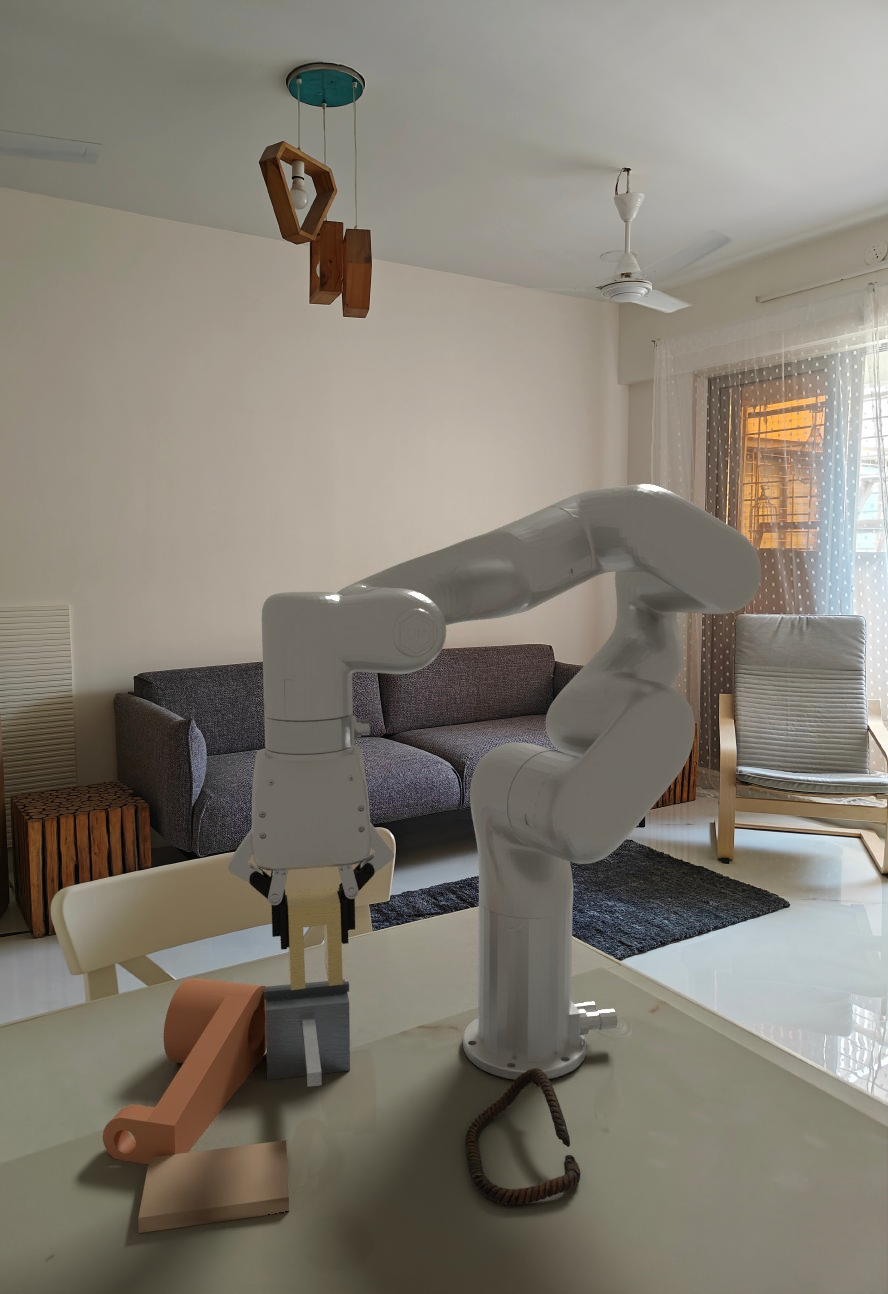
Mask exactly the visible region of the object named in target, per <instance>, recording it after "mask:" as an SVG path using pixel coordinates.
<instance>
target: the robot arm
mask: <svg viewBox="0 0 888 1294" xmlns="http://www.w3.org/2000/svg"><path fill="white" fill-rule="evenodd" d="M761 566H762V565H761V560H760V558H759V555H758V553H757V550H756V549H755V546H754V545H753V544H752V543H751V541H750V540H749V539H748V538H747V537H746V536H745V535H744V534H743V533H742V532H740V531H738V529H735V528H734V527H733V526H730V525H729V524H728V523H726V522H724V521H723V520H722V519H719V518H718V517H716V516H715V515H713V514H711V513H709V512H708V511H706V510H704V509H703V508H701V507H700V506H698V505H696V504H694V503H693V502H691V501H689V500H688V499H686V498H684V497H682V496H681V495H679V494H676V493H675V492H672V491H671V490H668V489H665V488H663V487H660V486H658V485H654V484H648V483H647V484H646V483H640V484H630V485H623V486H622V485H621V486H613V487H605V488H596V489H591V490H586V491H582V492H579V493H577V494H573V495H572V496H569V497H567V498H565V499H562V500H559V501H557V502H555V503H552V504H550V505H548V506H546V507H543V508H542V509H539V510H538V511H535V512H533V513H531V514H528V515H526V516H523V517H521V518H519V519H517V520H514V521H512V522H510V523H508V524H505V525H502V526H501V527H498V528H495V529H493V530H491V531H488V532H486V533H482V534H480V535H477V536H473V537H471V538H468V539H465V540H462V541H459V542H457V543H454V544H452V545H449V546H446V547H443V548H440V549H437V550H435V551H432V552H429V553H427V554H424V555H420V556H418V557H417V556H416V557H415V558H412V559H409V560H406V561H404V562H401V563H398V564H395V565H392V566H391V567H388V568H386V569H383V570H381V571H378V572H376V573H374V574H372V575H369V576H367V577H364V578H363V579H360V580H358V581H356V582H353V583H351V584H349V585H347V586H345V587H343V588H341V589H340V590H338V591H337V592H334V591H333V592H331V591H289V592H288V591H287V592H279V593H275V594H272V595H270V596H269V597H267V598H266V599H265V601H264V602H263V604H262V608H261V636H262V637H261V638H262V639H261V641H262V644H261V645H262V679H263V681H262V682H263V710H264V711H263V715H264V744H265V745H264V747H265V748H262V749H259V750H257V751H256V755H255V762H254V767H253V776H252V789H251V825H250V826H251V828H250V830H249V831H248V832H247V834H246V835H245V836H244V838H243V839H242V841H241V843H240V844H239V846H238V848H237V849H236V850H235V852H234V853H233V854H232V855H231V857H230V859H229V860H228V863H227V864H228V865H227V870H228V871H229V872H230V873H231V874H232V875H235V876H236V877H238V878H239V879H241V880H243V881H245V882H247V883H248V884H250V886H251V887H252V888H254V889H255V890H256V891H257V892H258V893H260V894H261V895H262V896H263V897H264V898H266V900H267V902H268V903H269V904H271V928H272V929H271V933H272V934H271V935H272V938H275V937H276V938H277V937H280V950H281V951H282V950H287V949H288V948H289V922H288V902H287V894H286V889H285V888H286V887H285V886H286V883H287V878H288V873H289V871H292V870H306V869H308V870H309V869H319V868H334V867H337V869H338V873H339V877H340V880H341V882H340V884H338V885H339V887H338V890H337V893H338V897H339V900H340V912H341V943H342V945H345V944H349V931H352V930H356V898H357V897H358V896H359V892H360V890H362V889H363V887H364V886H366V885H367V883H369V881H370V880H371V879H372V878H373V877H374V875H375V874H376V873H377V872H378V871H380V870H382V869H383V868H384V867H385V866H387V865H388V864H389V863H390V862H392V861H393V860H394V857H395V854H394V852H393V849H392V847H390V845H389V844H388V843H387V841H386V840H385V839H384V837H383V836H382V835H381V834H380V833H379V831H378V830H377V828H376V827H375V826H374V825H373V824H372V822H371V816H370V802H369V792H368V790H369V789H368V784H367V778H366V770H365V761H364V757H363V753H362V748H361V747H360V746H359V745H355V741H356V740H357V739H358V738H361V737H362V736H369V735H370V734H371V726H370V724H371V723H370V720H369V719H361V718H357V716H355V715H354V713H353V711H354V710H353V709H354V706H353V705H354V704H353V674H354V673H357V672H359V673H360V672H361V673H363V672H364V673H377V674H378V673H379V674H387V675H388V674H389V675H405V674H411V673H414V672H416V671H420V670H422V669H424V668H425V667H427V666H429V665H430V664H432V662H434V661H435V659H437V658H438V656H439V655H440V653H441V652H442V649H443V648H444V645H445V642H446V639H447V626H450V625H453V624H458V623H465V622H471V621H482V620H483V621H485V620H493V619H499V618H504V617H510V616H513V615H518V614H523V613H525V612H527V611H530V610H532V609H534V608H536V607H538V606H540V605H542V604H543V603H545V602H547V601H550V600H552V599H554V598H556V597H558V596H560V595H562V594H563V593H565V592H568V591H570V590H571V589H572V590H573V588H575V587H578V586H579V585H581V584H583V583H586V582H588V581H589V580H591V579H594V578H596V577H598V576H599V575H604V574H607V573H608V574H609V573H612V572H613V573H615V576H614V580H615V581H614V587H615V594H616V621H615V626H614V629H613V631H612V632H611V634H610V636H609V638H608V639H607V640H606V641H605V643H603V645H602V646H601V647H600V648H599V650H597V652H596V653H595V654H594V655H593V656H592V657H591V658H590V659H589V660H588V661H587V663H586V664H584V666H583V667H582V668H581V669H580V670H579V671H578V672H577V674H575V675H574V676H573V678H571V680H570V681H569V682H568V683H566V685H565V686H564V687H563V688H562V690H560V692H559V693H558V694H557V696H556V697H555V698H554V700H553V701H552V702H551V704H550V706H549V708H548V711H547V712H546V715H545V716H546V717H545V733H546V735H547V737H548V739H549V741H550V742H551V744H552V746H553V747H554V748H556V749H557V750H556V749H553V748H549V747H545V746H542V745H538V744H533V743H527V742H507V743H504V744H500V745H499V746H495V747H494V748H492V749H491V750H489V751H487V753H485V754H484V756H482V757H481V759H480V760H479V761H478V763H477V764H476V766H475V768H474V771H473V774H472V777H471V781H470V787H469V802H470V810H471V818H472V822H473V828H474V833H475V834H474V835H475V839H476V847H477V857H478V858H477V859H478V860H477V861H478V948H477V949H478V951H477V952H478V958H477V959H478V973H477V974H478V975H477V976H478V978H477V979H478V980H477V981H478V986H477V987H478V991H477V993H478V994H477V995H478V996H477V997H478V999H477V1000H478V1001H477V1003H478V1004H477V1009H478V1010H477V1017H476V1018H475V1019H473V1020H472V1021H471V1022H470V1023H469V1024H468V1025H467V1026H466V1028H465V1029H464V1031H463V1036H462V1043H463V1044H462V1048H463V1051H464V1053H465V1055H466V1057H467V1058H468V1060H469V1061H470V1062H471V1063H472V1064H474V1065H475V1066H476V1067H478V1068H479V1069H481V1070H483V1071H484V1072H487V1073H489V1074H491V1075H494V1076H496V1077H500V1078H504V1079H508V1080H513V1081H514V1080H516V1078H517V1077H518V1076H521V1074H522V1073H524V1072H526V1071H527V1070H529V1069H532V1068H539V1069H540V1070H542V1071H543V1072H544V1073H545V1074H546V1075H547V1077H548V1078H549V1080H551V1079H555V1078H559V1077H561V1076H565V1075H566V1074H569V1073H571V1072H572V1071H574V1070H576V1069H577V1068H578V1067H579V1066H580V1065H581V1064H582V1063H583V1061H584V1060H585V1058H586V1055H587V1039H586V1036H585V1035H588V1034H589V1031H593V1030H595V1031H596V1030H598V1031H600V1030H611V1029H612V1030H613V1029H616V1028H617V1026H618V1017H617V1013H616V1011H615V1009H614V1008H603V1009H597V1006H596V1003H595V1001H594V1000H591V1001H590V1000H589V1001H582V1002H576V1003H574V1001H573V1000H572V978H573V977H572V975H573V974H572V971H573V968H572V967H573V964H572V963H573V961H572V960H573V904H574V883H573V873H572V867H571V863H574V864H582V865H583V864H584V865H585V864H588V865H589V864H593V863H596V862H599V861H601V860H603V859H605V858H607V857H609V855H610V854H612V853H613V852H615V850H617V849H618V848H619V847H620V846H621V845H623V842H625V840H626V839H627V838H628V837H629V836H630V835H631V833H632V832H633V831H634V830H635V829H636V828H637V827H638V825H639V824H640V823H641V821H642V820H643V819H644V818H645V816H646V815H647V814H648V813H649V812H650V811H651V809H652V808H653V807H654V805H655V804H656V803H657V802H658V801H659V799H660V798H661V797H662V796H663V795H664V793H665V792H666V791H667V789H668V788H669V787H670V786H671V785H672V783H674V782H675V780H676V778H677V777H678V776H679V774H680V773H681V771H682V770H683V768H684V766H686V763H687V761H688V759H689V756H690V754H691V751H692V748H693V745H694V739H695V732H696V726H695V723H696V721H695V716H694V711H693V708H692V707H691V705H690V703H689V701H688V700H687V699H686V697H684V695H683V694H681V692H679V691H678V690H677V689H676V688H673V685H674V684H675V683H676V681H677V680H678V678H679V676H680V674H681V671H682V668H683V662H684V652H683V646H682V645H683V644H682V641H681V635H680V627H679V620H678V615H677V613H681V614H683V613H684V614H705V615H706V614H707V615H727V614H731V613H734V612H737V611H739V610H741V609H743V608H744V607H746V606H747V605H748V604H749V603H750V602H751V601H752V600H753V599H754V597H755V596H756V594H757V593H758V591H759V587H760V583H761V578H762V567H761ZM371 849H372V852H371ZM252 856H253V861H254V864H255V865H254V864H252V863H251V862H250V859H251V858H252ZM353 865H356V866H355V868H353ZM264 870H265V871H270V875H269V874H268V873H267V872H265V871H264Z"/></svg>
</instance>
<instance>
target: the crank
mask: <svg viewBox="0 0 888 1294" xmlns="http://www.w3.org/2000/svg"><path fill="white" fill-rule="evenodd" d="M266 987H267V986H265V985H260V984H250V983H242V982H241V983H240V982H231V981H223V980H215V979H206V978H205V979H204V978H195V977H188V978H186V979H184V980H183V981H182V983H180V984H179V986H178V987H177V989H176V990H175V992H174V994H173V996H172V997H171V999H170V1002H169V1005H168V1009H167V1012H166V1015H165V1019H164V1020H165V1021H164V1024H163V1025H164V1026H163V1046H164V1047H163V1048H164V1052H165V1055H166V1057H167V1059H168V1060H169V1061H170V1062H172V1063H175V1064H176V1063H177V1064H178V1063H179V1064H181V1067H180V1068H179V1070H178V1071H177V1073H176V1074H175V1076H174V1077H173V1079H172V1081H171V1082H170V1084H169V1085H168V1087H167V1088H166V1090H165V1091H164V1093H163V1095H162V1096H161V1098H160V1100H159V1101H158V1103H157V1104H156V1105H155V1106H148V1105H140V1104H129V1105H126V1106H124V1107H122V1108H121V1109H120V1110H119V1111H118V1112H117V1113H116V1114H115V1115H114V1117H113V1118H111V1119H110V1121H108V1123H107V1124H106V1125H105V1127H104V1129H103V1131H102V1143H103V1146H104V1147H105V1150H106V1152H108V1154H109V1155H110V1157H112V1158H113V1159H115V1160H120V1161H127V1162H132V1163H139V1164H145V1165H148V1164H149V1158H150V1157H157V1156H165V1155H173V1154H181V1153H189V1152H191V1149H193V1147H194V1146H195V1145H196V1144H197V1142H198V1140H199V1139H200V1138H201V1136H202V1135H203V1134H204V1133H205V1132H206V1130H207V1129H208V1128H209V1126H210V1125H211V1124H212V1122H213V1121H215V1119H216V1118H217V1117H218V1115H219V1114H220V1112H221V1111H222V1110H223V1109H224V1108H225V1106H226V1105H227V1104H228V1102H229V1101H230V1100H231V1098H233V1096H234V1095H235V1094H236V1092H237V1091H238V1090H239V1088H241V1086H242V1084H244V1082H245V1081H246V1079H247V1078H248V1077H249V1076H250V1074H251V1073H252V1072H253V1070H254V1069H256V1067H257V1066H258V1064H259V1063H260V1062H261V1060H262V1059H263V1057H264V1055H265V1053H266V1052H267V1044H266V1000H264V989H266ZM130 1134H131V1135H132V1136H131V1135H130Z"/></svg>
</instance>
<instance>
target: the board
mask: <svg viewBox="0 0 888 1294" xmlns="http://www.w3.org/2000/svg"><path fill="white" fill-rule="evenodd" d="M287 1149H288V1148H287V1140H279V1141H278V1140H277V1141H269V1142H268V1141H267V1142H261V1143H254V1144H244V1145H239V1146H238V1145H237V1146H236V1145H235V1146H230V1147H223V1148H222V1147H221V1148H213V1149H206V1150H205V1149H204V1150H197V1151H189V1152H188V1153H181V1154H173V1155H165V1156H157V1157H150V1158H149V1164H147V1169H146V1175H145V1181H144V1185H143V1191H142V1197H141V1201H140V1208H139V1213H138V1217H137V1219H138V1234H141V1233H142V1234H143V1233H150V1232H157V1231H164V1230H170V1229H178V1228H185V1227H191V1226H192V1227H193V1226H199V1225H207V1224H213V1223H220V1222H226V1221H235V1220H241V1219H248V1218H255V1217H256V1218H257V1217H263V1216H268V1214H270V1215H276V1214H275V1213H277V1214H280V1213H279V1212H284V1213H286V1212H285V1211H289V1212H290V1195H289V1193H290V1192H289V1172H288V1153H287Z"/></svg>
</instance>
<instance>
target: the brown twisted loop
mask: <svg viewBox="0 0 888 1294" xmlns="http://www.w3.org/2000/svg"><path fill="white" fill-rule="evenodd" d="M532 1083H533V1084H534V1085H535V1086H536V1087H537V1088H538V1087H540V1088H541V1090H542V1091H541V1092H542V1093H543V1095H544V1098H545V1101H546V1103H547V1106H548V1108H549V1112H550V1115H551V1120H552V1123H553V1127H554V1130H555V1134H556V1137H557V1138H558V1140H559V1141H562V1142H561V1143H562V1145H565V1146H566V1147H568V1148H569V1147H571V1140H570V1134H569V1131H568V1127H567V1123H566V1120H565V1116H564V1115H563V1110H562V1108H561V1105H560V1103H559V1099H558V1096H557V1094H556V1092H555V1090H554V1087H553V1085H552V1082H551V1079H549V1078H548V1077H547V1075H546V1074H545V1073H544V1072H543V1071H542V1070H540V1069H539V1068H532V1069H529V1070H527V1071H526V1072H524V1073H522V1074H521V1076H518V1077H517V1078H516V1080H514V1079H513V1081H512V1084H511V1085H509V1087H508V1089H506V1092H504V1093H503V1095H502V1096H501V1097H499V1099H497V1100H496V1101H495V1102H494V1103H492V1104H491V1105H490V1106H488V1107H486V1109H484V1110H483V1111H482V1113H479V1114H478V1117H475V1119H474V1120H473V1121H472V1122H471V1125H469V1126H468V1130H467V1131H466V1135H465V1139H464V1140H465V1144H464V1145H465V1153H466V1158H467V1164H468V1168H469V1172H470V1175H471V1179H472V1180H473V1183H474V1185H475V1187H476V1189H477V1190H479V1191H480V1192H481V1194H482V1195H485V1196H486V1197H487V1198H488V1199H491V1200H492V1201H493V1202H496V1203H499V1204H502V1205H505V1204H506V1205H507V1206H513V1205H515V1206H520V1205H526V1204H531V1203H534V1202H540V1201H541V1200H546V1199H547V1198H552V1197H553V1196H556V1195H559V1194H562V1193H564V1192H566V1191H570V1190H572V1189H574V1188H575V1187H576V1185H578V1184H579V1182H580V1180H581V1174H582V1173H581V1169H580V1166H579V1163H578V1162H577V1160H576V1159H575V1156H574V1155H572V1154H566V1155H565V1156H564V1162H565V1163H564V1164H565V1170H566V1174H564V1175H561V1176H557V1177H556V1178H552V1179H550V1180H549V1179H548V1180H547V1181H544V1182H541V1183H538V1184H536V1185H530V1186H528V1187H523V1188H521V1187H520V1188H507V1187H502V1186H499V1185H497V1184H496V1183H493V1182H492V1181H491V1180H490V1179H489V1178H488V1177H487V1175H486V1173H485V1171H484V1168H483V1164H482V1160H481V1154H480V1148H479V1136H480V1134H481V1132H482V1130H483V1129H485V1127H487V1125H489V1123H490V1122H491V1121H493V1120H494V1118H496V1117H497V1116H499V1115H500V1114H502V1112H504V1111H506V1110H507V1109H508V1107H510V1106H511V1105H512V1103H514V1102H515V1100H516V1098H518V1096H519V1095H520V1094H521V1092H522V1091H523V1090H524V1089H525V1088H526V1087H528V1086H529V1085H531V1084H532Z"/></svg>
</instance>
